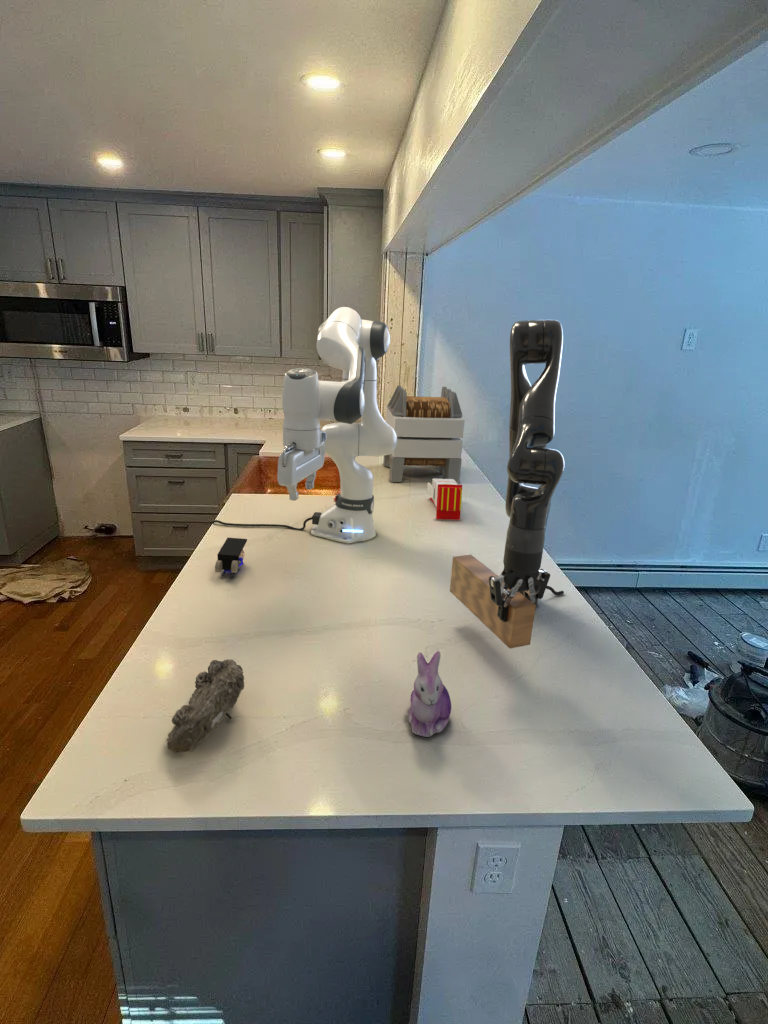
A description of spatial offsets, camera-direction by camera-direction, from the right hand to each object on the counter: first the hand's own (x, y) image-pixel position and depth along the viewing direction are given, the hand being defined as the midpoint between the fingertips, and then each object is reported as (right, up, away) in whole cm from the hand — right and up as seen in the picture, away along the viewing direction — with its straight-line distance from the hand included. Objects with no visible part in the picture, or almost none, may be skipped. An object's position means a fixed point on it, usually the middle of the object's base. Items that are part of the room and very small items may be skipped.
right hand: (514, 617), depth 121 cm
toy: (-4, +24, +107) cm, 110 cm away
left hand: (-48, +27, +19) cm, 58 cm away
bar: (-4, -1, +11) cm, 11 cm away
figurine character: (-73, +5, +47) cm, 87 cm away
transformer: (-10, +41, +154) cm, 160 cm away
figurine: (-19, -18, -11) cm, 29 cm away
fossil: (-60, -17, -12) cm, 64 cm away
